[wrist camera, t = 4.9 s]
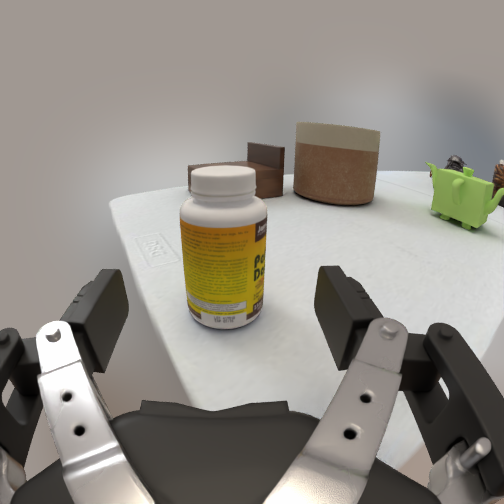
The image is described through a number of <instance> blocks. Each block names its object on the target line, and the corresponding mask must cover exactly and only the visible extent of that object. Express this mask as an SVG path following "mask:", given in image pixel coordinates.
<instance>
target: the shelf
mask: <svg viewBox="0 0 504 504" xmlns="http://www.w3.org/2000/svg"><path fill="white" fill-rule="evenodd" d="M284 152H285V148H284V147H279V146H273V145H267V144H260V143H252V142H249V143H248V157H247V161H239V162H224V163H211V164H200V165H189V166H188V187H189V191H190V192H191V191H192V190H191V172H192V171H193V170H195V169H198V168H202V167H208V166H224V165H230V166H244V167H249V168H252V169H254V170H255V172H256V189H255V195H254V196H256V197H258V198H260V199H261V198H269V197H278V196H283V175H284Z"/></svg>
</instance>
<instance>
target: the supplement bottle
mask: <svg viewBox="0 0 504 504" xmlns="http://www.w3.org/2000/svg"><path fill="white" fill-rule="evenodd" d="M255 189H256V172H255V170H254V169H252V168H249V167H244V166H230V165H224V166H208V167H202V168H198V169H195V170H193V171H192V172H191V190H192V191H191V196H192V197H191V198H189V199H187V200H186V201H185V202H184V203H183V204H182V205H181V207H180V228H181V241H182V253H183V265H184V275H185V284H186V293H187V302H188V308H189V311H190V313H191V315H192V316H193V317H194V318H195V319H196V320H197V321H198V322H200V323H201V324H203V325H205V326H208V327H212V328H217V329H232V328H237V327H241V326H244V325H246V324H248V323H250V322H252V321H253V320H254V319H255V318H256V317H257V316H258V315H259V313H260V312H261V309H262V305H263V290H264V271H265V251H266V231H267V207H266V204H265V203H264V202H263V201H262V200H261V199H260V198H258V197H256V196H254V195H255Z"/></svg>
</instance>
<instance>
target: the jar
mask: <svg viewBox="0 0 504 504" xmlns="http://www.w3.org/2000/svg"><path fill="white" fill-rule="evenodd" d="M492 183H493V184H494V187H493V193H492V198H491V200H492V199H493V198H494V196H495V195H496V193H497V191H498V190H499V189H501V188H504V161H503V160H500V164H497V165H496V166H495V170H494V175H493V182H492ZM498 205H500V206H502V207H504V195H503V196H502V198H501V199H500V201H499V203H498Z"/></svg>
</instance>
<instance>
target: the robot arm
mask: <svg viewBox="0 0 504 504" xmlns="http://www.w3.org/2000/svg"><path fill="white" fill-rule="evenodd" d="M314 308H315V313H316V316H317V318H318V321H319V323H320V326H321V328H322V330H323V333H324V335H325V338H326V340H327V343H328V346H329V348H330V351H331V353H332V356H333V358H334V361H335V363H336V366H337V368H338V371H340V370H347V369H348V370H347V372H346V374H345V376H344V378H343V380H342V382H341V384H340V386H339V388H338V390H337V392H336V393H335V395H334V397H333V399H332V401H331V403H330V405H329V406H328V408H327V410H326V412H325V413H324V415H323V417H322V419H321V420H320V419H318V418H315V417H313V416H311V415H307V414H304V413H300V412H296V411H289V408H288V402H287V401H277V402H262V403H249V404H245V405H241V406H237V407H233V408H228V409H224V410H219V411H207V410H203V409H199V408H194V407H190V406H186V405H182V404H179V403H172V402H171V403H170V402H157V401H146V400H142V403H141V407H140V410H138V411H132V412H128V413H125V414H122V415H120V416H117V417H115V418H113V417H112V415H111V413H110V411H109V409H108V407H107V406H106V403H105V401H104V399H103V397H102V395H101V393H100V391H99V389H98V386H97V384H96V382H95V380H94V378H93V376H92V374H93V372H99V373H105V371H106V368H107V365H108V363H109V360H110V358H111V355H112V353H113V350H114V348H115V345H116V342H117V340H118V338H119V335H120V333H121V330H122V328H123V326H124V323H125V321H126V319H127V316H128V311H129V304H128V299H127V295H126V290H125V286H124V281H123V277H122V273H121V271H120V270H119V269H102V270H101V271H100V272H99V274H98V275H97V277H96V278H95V280H94V281H90V282H89V283H88V284H87V285H85V286H84V287H82V289H81V290H80V292H79V293H78V294H77V296H76V297H75V299H74V300H73V303H71V304H70V306H69V307H68V308H67V310H66V312H65V313H64V314H63V316H62V317H61V319H60V320H59V321H54V322H50V323H48V324H46V325H44V326H43V327H42V328H41V329H40V330H39V331H38V333H37V335H36V337H34V338H26V339H21V337H20V335H19V333H18V331H17V330H16V329H14V328H6V329H3V330H1V331H0V504H494V503H496V502H497V501H499V500H501V499H502V498H504V398H503V396H502V395H501V393H500V391H499V390H498V388H497V387H496V385H495V384H494V382H493V381H492V379H491V377H490V376H489V374H488V373H487V371H486V370H485V368H484V367H483V365H482V364H481V362H480V361H479V360H478V358H477V357H476V355H475V354H474V352H473V351H472V350H471V348H470V347H469V346H468V344H467V343H466V341H465V340H464V339H463V337H462V336H461V335H460V333H459V332H458V331H457V330H456V329H455V328H453V327H452V326H450V325H448V324H445V323H434V324H432V325H430V327H429V329H428V331H427V333H426V335H424V334H413V333H408V331H407V329H406V327H405V326H404V325H403V324H401V323H400V322H398V321H396V320H394V319H390V318H384V317H383V316H382V314H381V313H380V311H379V310H378V308H377V307H376V305H375V304H374V302H373V301H372V299H370V297H369V295H368V294H367V292H365V289H364V288H363V287H362V285H361V284H360V283H359V282H357V281H356V280H355V279H353V278H352V277H346V275H345V274H344V272H343V271H342V269H341V268H340V266H321V267H320V268H319V272H318V279H317V285H316V292H315V298H314ZM441 377H442V379H443V381H444V382H445V384H446V386H447V388H448V390H449V400H448V398H447V397H446V395H445V393H444V391H443V389H442V387H441V385H440V384H439V382H438V381H439V379H440V378H441ZM8 379H9V380H10V381H11V382H12V384H13V385H14V387H15V388H14V390H13V392H12V394H11V397H10V399H9V401H8V403H7V406H6V407H5V406H4V404H3V402H2V392H3V390H4V388H5V386H6V383H7V381H8ZM398 391H403V392H404V394H405V397H406V399H407V401H408V404H409V406H410V408H411V410H412V413H413V415H414V418H415V420H416V422H417V425H418V427H419V430H420V432H421V435H422V437H423V440H424V442H425V445H426V447H427V450H428V453H429V455H430V458H431V461H432V463H433V466H432V468H431V470H430V474H429V483H428V486H427V487H428V488H426V487H424V486H422V485H421V484H419V483H417V482H415V481H414V480H412V479H410V478H408V477H407V476H405V475H403V474H402V473H400V472H398V471H397V470H395V469H393V468H392V467H390V466H389V465H387V464H385V463H384V462H382V461H381V460H379V459H378V458H376V454H377V452H378V449H379V447H380V444H381V442H382V439H383V436H384V434H385V431H386V428H387V425H388V422H389V419H390V416H391V413H392V410H393V407H394V403H395V400H396V397H397V393H398ZM43 406H44V410H45V414H46V417H47V421H48V424H49V427H50V430H51V434H52V437H53V440H54V443H55V446H56V449H57V452H58V454H59V457H60V458H59V459H58V460H57V461H55V462H54V463H52V464H51V465H50V466H48V467H47V468H45V469H44V470H43V471H41V472H40V473H38V474H37V475H36V476H34V477H33V478H31V479H30V480H29V481H27V480H26V474H25V471H24V466H25V462H26V458H27V455H28V451H29V448H30V444H31V441H32V438H33V434H34V431H35V429H36V426H37V423H38V420H39V417H40V414H41V411H42V408H43Z"/></svg>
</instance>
